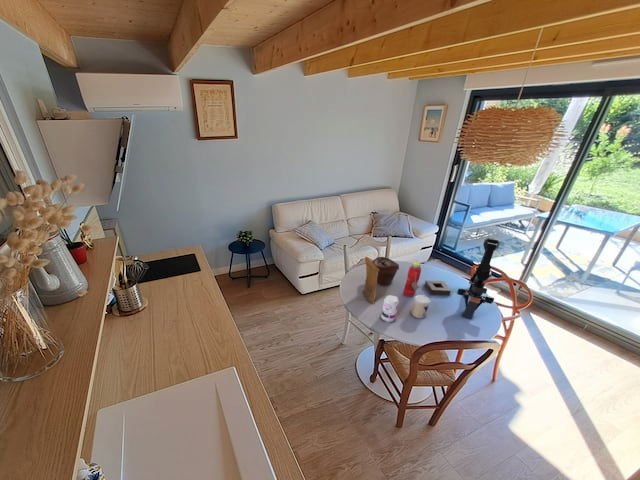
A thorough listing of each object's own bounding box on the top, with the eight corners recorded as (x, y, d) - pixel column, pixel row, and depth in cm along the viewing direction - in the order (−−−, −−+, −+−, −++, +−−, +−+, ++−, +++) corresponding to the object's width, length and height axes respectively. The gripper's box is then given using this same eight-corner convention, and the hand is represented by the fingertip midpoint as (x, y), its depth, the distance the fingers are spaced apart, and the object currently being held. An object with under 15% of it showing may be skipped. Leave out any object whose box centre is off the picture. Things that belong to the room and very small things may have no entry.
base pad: (442, 285, 209) (443, 281, 207) (449, 295, 198) (451, 290, 196) (424, 285, 210) (425, 280, 208) (430, 294, 199) (432, 290, 197)
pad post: (463, 312, 181) (470, 295, 174) (472, 315, 179) (480, 298, 172) (462, 316, 178) (469, 299, 171) (471, 319, 175) (479, 302, 168)
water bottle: (416, 301, 192) (425, 269, 180) (404, 299, 194) (412, 267, 182) (413, 291, 202) (422, 260, 190) (401, 290, 204) (409, 259, 192)
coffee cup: (424, 320, 174) (429, 305, 168) (408, 315, 179) (412, 300, 173) (426, 312, 181) (431, 297, 175) (411, 308, 186) (415, 293, 180)
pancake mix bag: (367, 304, 189) (373, 268, 175) (359, 289, 206) (364, 254, 192) (377, 304, 189) (384, 268, 176) (368, 288, 206) (374, 254, 192)
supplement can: (394, 315, 179) (399, 295, 172) (394, 323, 172) (399, 303, 165) (381, 312, 182) (385, 293, 174) (380, 320, 175) (384, 301, 167)
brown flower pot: (373, 272, 226) (376, 252, 218) (398, 279, 216) (403, 259, 207) (364, 282, 214) (368, 261, 205) (391, 290, 204) (396, 268, 195)
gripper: (462, 277, 174) (454, 300, 172) (499, 286, 165) (491, 311, 162) (460, 282, 184) (453, 304, 181) (495, 291, 174) (487, 315, 172)
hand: (470, 308), depth 174 cm, fingers closed on pad post, 5 cm apart
